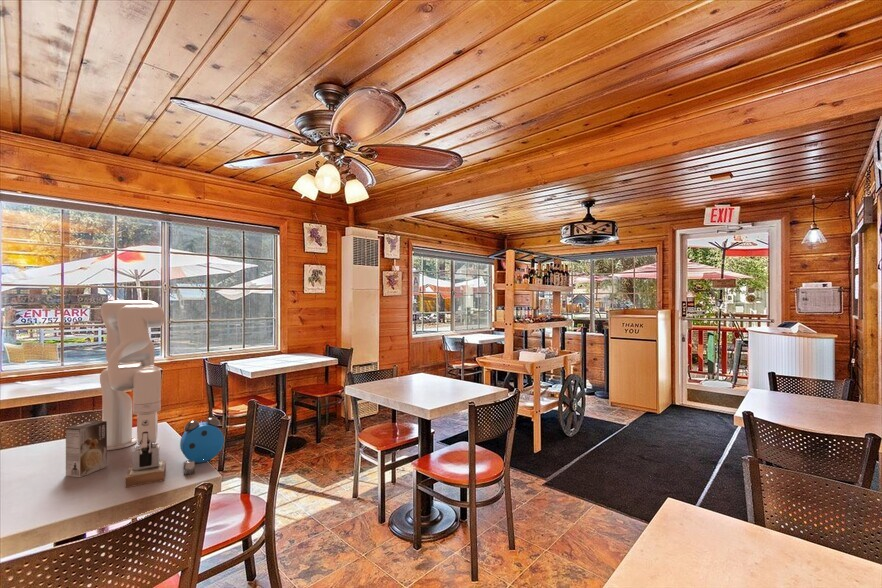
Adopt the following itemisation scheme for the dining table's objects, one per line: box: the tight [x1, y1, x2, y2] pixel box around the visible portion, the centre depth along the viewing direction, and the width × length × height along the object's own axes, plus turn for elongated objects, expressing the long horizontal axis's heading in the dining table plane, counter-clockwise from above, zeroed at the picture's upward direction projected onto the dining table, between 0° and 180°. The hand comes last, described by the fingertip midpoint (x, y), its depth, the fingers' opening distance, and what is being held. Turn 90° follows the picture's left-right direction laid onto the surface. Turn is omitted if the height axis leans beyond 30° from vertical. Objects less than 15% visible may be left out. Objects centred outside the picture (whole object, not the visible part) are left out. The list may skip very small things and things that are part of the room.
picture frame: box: [124, 460, 167, 488], centre depth 137 cm, size 10×10×3 cm
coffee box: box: [65, 420, 108, 478], centre depth 143 cm, size 9×6×16 cm
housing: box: [131, 442, 161, 470], centre depth 137 cm, size 5×7×6 cm
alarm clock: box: [179, 416, 225, 464], centre depth 152 cm, size 13×6×15 cm, turn 131°
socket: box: [183, 459, 196, 477], centre depth 141 cm, size 3×3×4 cm
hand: (146, 462), depth 137 cm, fingers closed on housing, 5 cm apart
